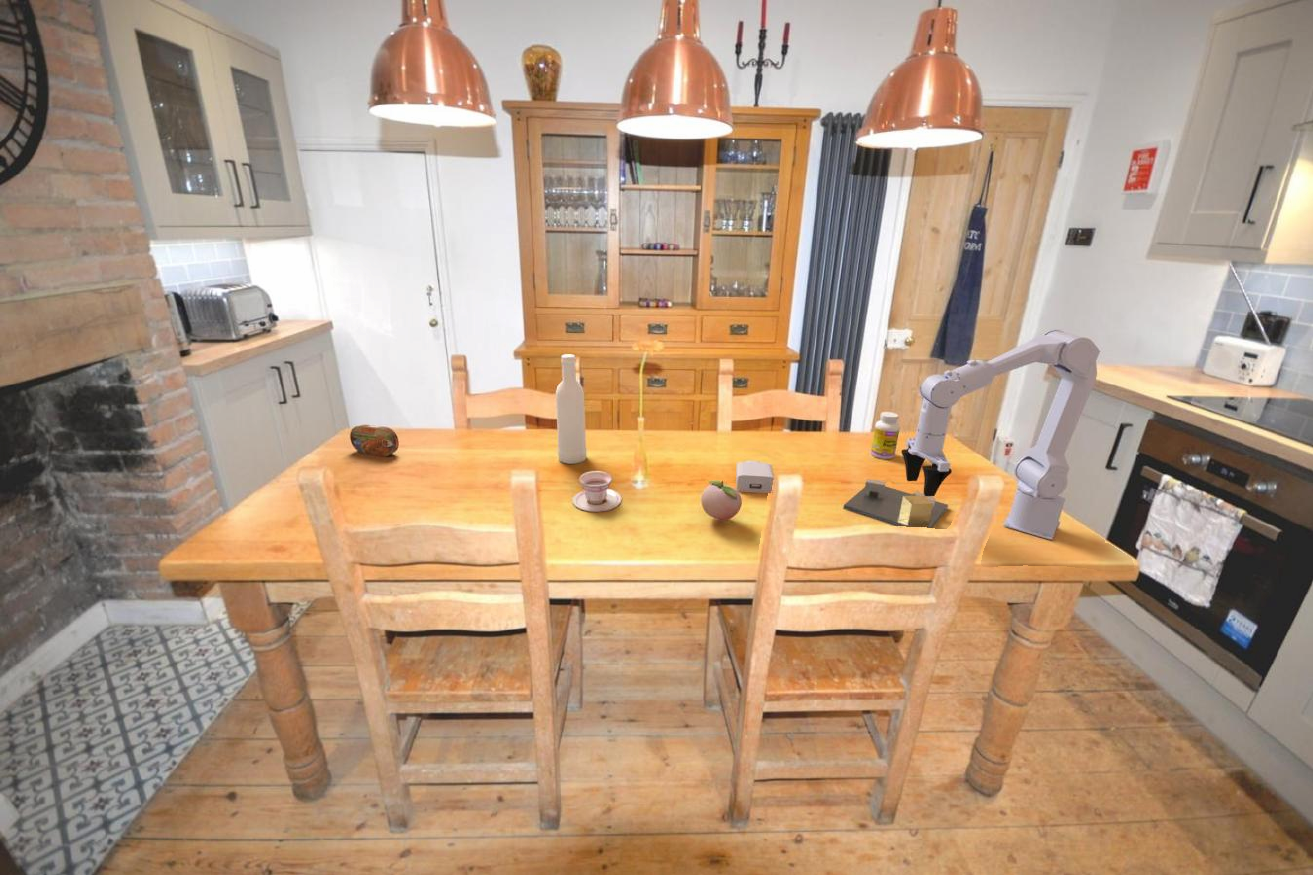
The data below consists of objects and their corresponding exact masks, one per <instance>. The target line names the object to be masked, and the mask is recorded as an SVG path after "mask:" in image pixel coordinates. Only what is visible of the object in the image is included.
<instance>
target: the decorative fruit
mask: <svg viewBox="0 0 1313 875" xmlns="http://www.w3.org/2000/svg"><path fill="white" fill-rule="evenodd" d="M708 483H709V485H708V486H707V487H706V488H705V489H704V490H703V492H702V493H701V497H700V498H701V500H700V502H701V507H702V508H703V510H704V512H705V513H706V515H708V516H709V517H711V518H713V519H716V520H717V521H721V522H723V521H728V520H730V519H732V518H735V517H736V515H737V514H738V513H739V511H740V510H741V508H742V503H743V499H742V496H741V494H740V491H738V490H737V488H734V487H732V486H729V485H726V484H725V483H724V481H723V480H722V481H720V480H715V479H714V480H713V479H712V480H709V481H708Z"/></svg>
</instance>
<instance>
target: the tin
mask: <svg viewBox="0 0 1313 875" xmlns="http://www.w3.org/2000/svg"><path fill="white" fill-rule="evenodd" d="M349 438H350V439H349V440H350V442H351V445H352V447H353V448H354V449H355V450H356V451H357V452H359V453H360V454H364V455H365V454H366V455H371V456H379V457H388V456H390V455H392V454H395V452H397V451H398V449H399V444H400V443H399V437H398V435H397V433H396V432H395V431H394V430H393V428H390V427H387V426H380V425H374V424H373V425H372V424H361V425H356V426H354V427H352V429H351V431H350V434H349Z"/></svg>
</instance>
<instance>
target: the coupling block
mask: <svg viewBox="0 0 1313 875" xmlns="http://www.w3.org/2000/svg"><path fill="white" fill-rule="evenodd" d="M932 507H933V503H932V502H931V501H930V500H929V499H927V498H926V497H925V496H924V495H919V496H903V499H902V504H901V509H900V514H899V515H900V516H901V517H902V518H903V519H904V520H905V521H906V522H907V523H908V524H919V523H929V521H930V516H931V512H932Z"/></svg>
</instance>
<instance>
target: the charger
mask: <svg viewBox="0 0 1313 875" xmlns="http://www.w3.org/2000/svg"><path fill="white" fill-rule="evenodd" d="M773 470H774V469H773V465H772V464H771V463H767V462H761V461H759V460H751V459H750V460H747V461H739V462H737V463H736V471H735V473H736V474H735V476H736V478H735V479H736V490H737V491H738V492H743V493H745V492H746V493H759V494H760V493H761V494H763V493H765V494H772V493H771V491H772V485H773V480H774V479H775V474H774V471H773Z"/></svg>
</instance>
